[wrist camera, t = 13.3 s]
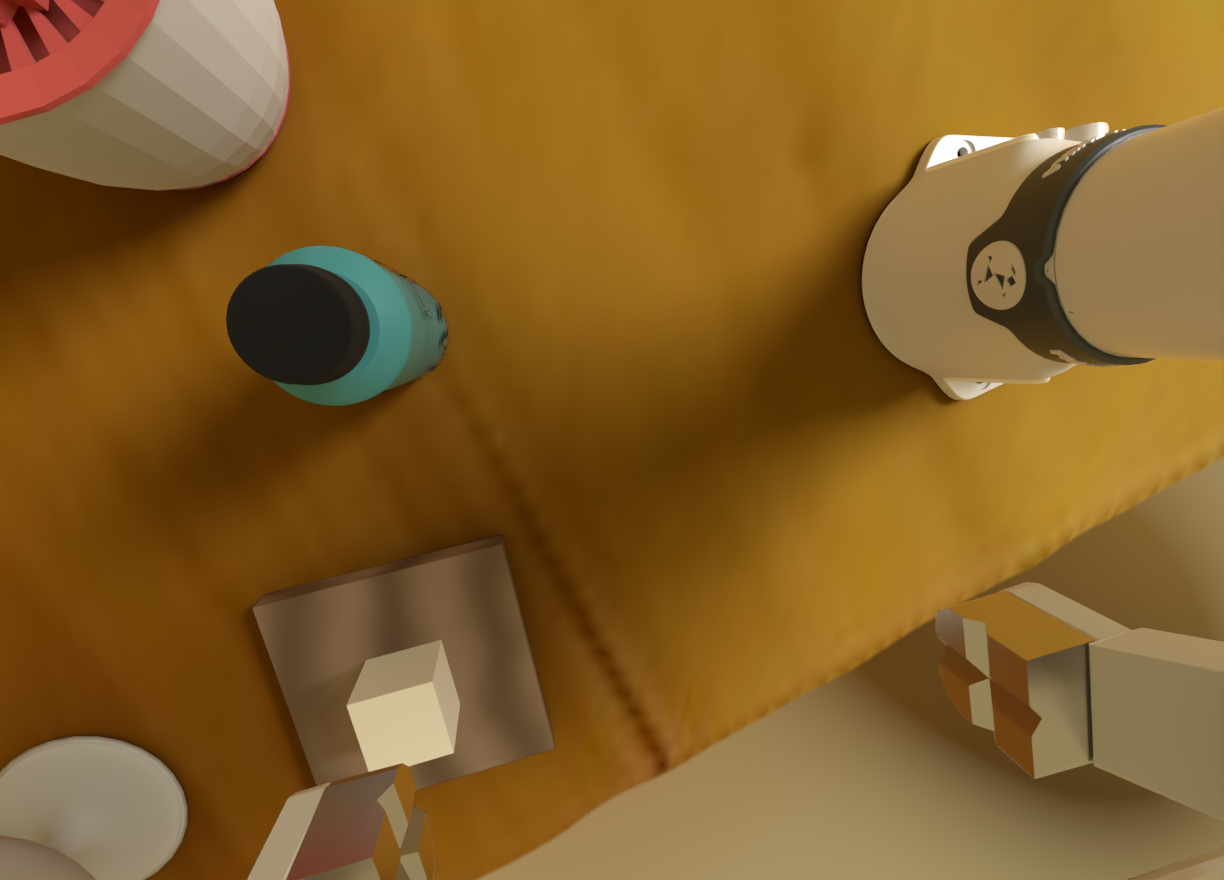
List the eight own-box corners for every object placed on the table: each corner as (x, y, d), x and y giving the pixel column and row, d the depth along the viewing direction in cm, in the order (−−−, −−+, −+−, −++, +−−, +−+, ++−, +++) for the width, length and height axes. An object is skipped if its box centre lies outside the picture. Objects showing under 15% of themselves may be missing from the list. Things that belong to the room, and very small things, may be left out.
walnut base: (501, 534, 42) (501, 544, 40) (552, 730, 45) (554, 748, 43) (264, 594, 40) (252, 607, 38) (335, 795, 43) (327, 817, 41)
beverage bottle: (422, 399, 40) (338, 464, 20) (325, 346, 38) (135, 361, 19) (471, 313, 39) (435, 295, 20) (376, 256, 38) (236, 175, 18)
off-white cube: (441, 639, 41) (432, 681, 36) (460, 703, 42) (453, 753, 37) (366, 660, 40) (346, 705, 35) (387, 724, 41) (370, 777, 36)
